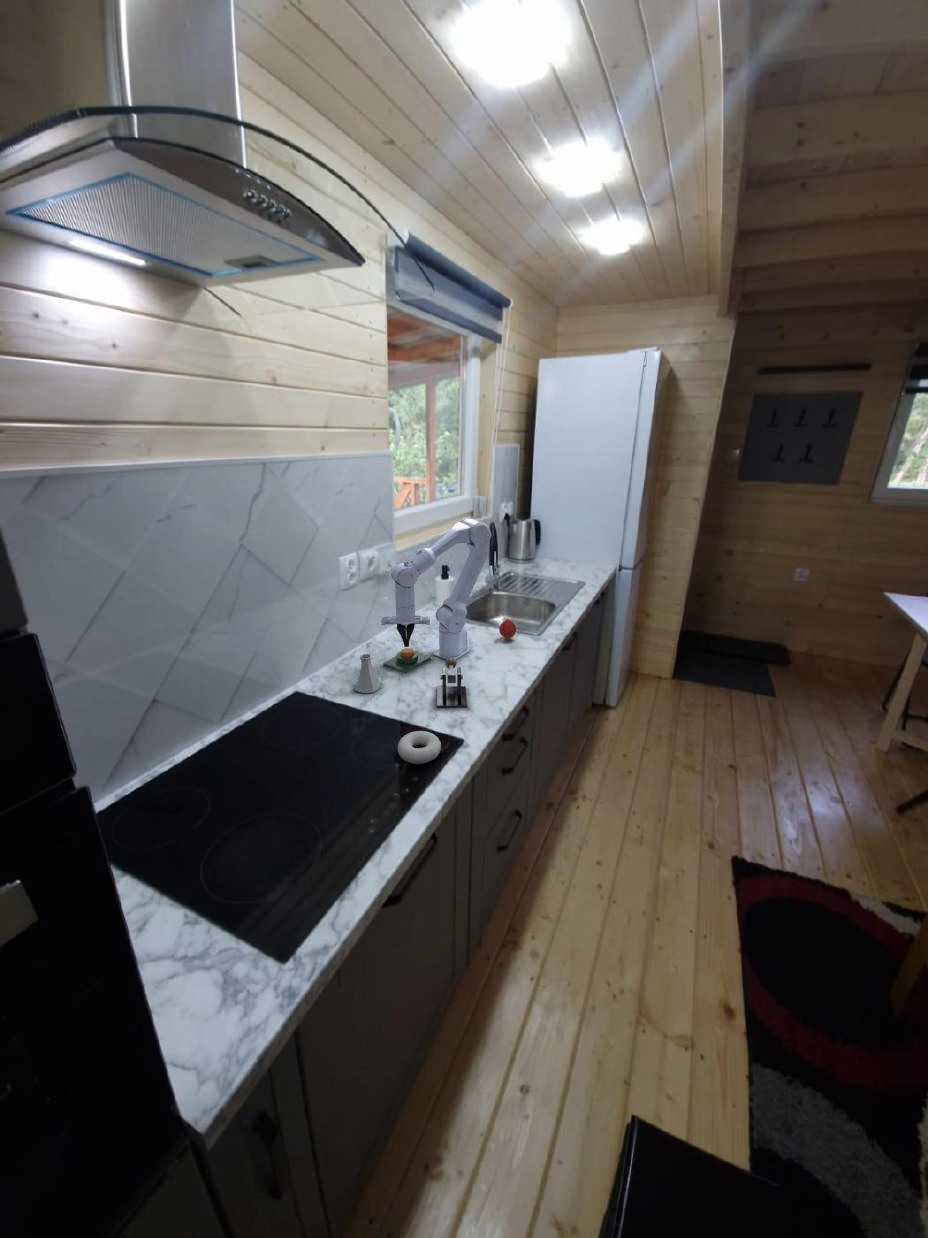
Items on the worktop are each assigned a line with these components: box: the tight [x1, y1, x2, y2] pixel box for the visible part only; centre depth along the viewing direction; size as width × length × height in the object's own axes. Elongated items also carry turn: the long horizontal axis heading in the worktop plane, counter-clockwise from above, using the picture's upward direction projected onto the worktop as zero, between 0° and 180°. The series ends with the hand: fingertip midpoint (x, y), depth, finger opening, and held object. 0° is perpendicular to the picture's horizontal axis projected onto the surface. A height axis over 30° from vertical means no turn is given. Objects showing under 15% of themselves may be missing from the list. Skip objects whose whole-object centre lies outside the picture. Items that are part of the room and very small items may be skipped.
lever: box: [444, 658, 457, 684], centre depth 136 cm, size 11×3×3 cm, turn 3°
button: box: [400, 647, 414, 658], centre depth 153 cm, size 4×4×2 cm
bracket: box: [436, 666, 468, 709], centre depth 133 cm, size 10×8×9 cm
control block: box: [383, 650, 431, 674], centre depth 154 cm, size 12×9×3 cm
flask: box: [354, 653, 381, 694], centre depth 139 cm, size 7×7×10 cm
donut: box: [397, 730, 442, 765], centre depth 113 cm, size 10×4×10 cm
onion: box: [498, 618, 517, 641], centre depth 170 cm, size 6×6×8 cm
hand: (406, 645), depth 152 cm, fingers closed
